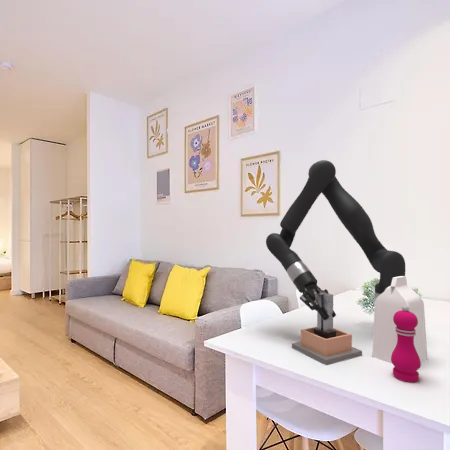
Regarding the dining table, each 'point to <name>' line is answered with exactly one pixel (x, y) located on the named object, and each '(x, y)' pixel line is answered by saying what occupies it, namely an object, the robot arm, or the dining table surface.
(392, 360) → the pepper mill
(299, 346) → the holder
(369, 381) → the dining table surface
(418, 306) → the milk
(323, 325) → the twin upright plate stand
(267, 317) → the dining table surface
